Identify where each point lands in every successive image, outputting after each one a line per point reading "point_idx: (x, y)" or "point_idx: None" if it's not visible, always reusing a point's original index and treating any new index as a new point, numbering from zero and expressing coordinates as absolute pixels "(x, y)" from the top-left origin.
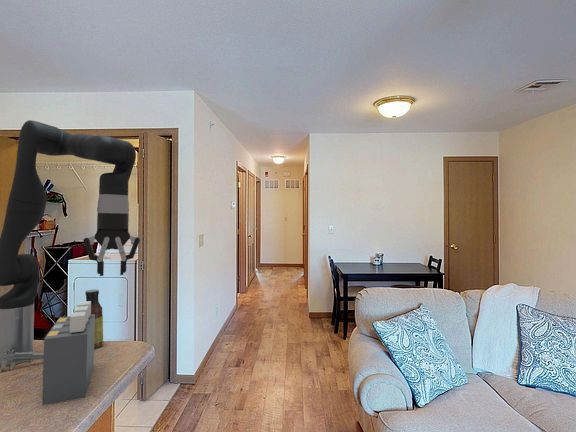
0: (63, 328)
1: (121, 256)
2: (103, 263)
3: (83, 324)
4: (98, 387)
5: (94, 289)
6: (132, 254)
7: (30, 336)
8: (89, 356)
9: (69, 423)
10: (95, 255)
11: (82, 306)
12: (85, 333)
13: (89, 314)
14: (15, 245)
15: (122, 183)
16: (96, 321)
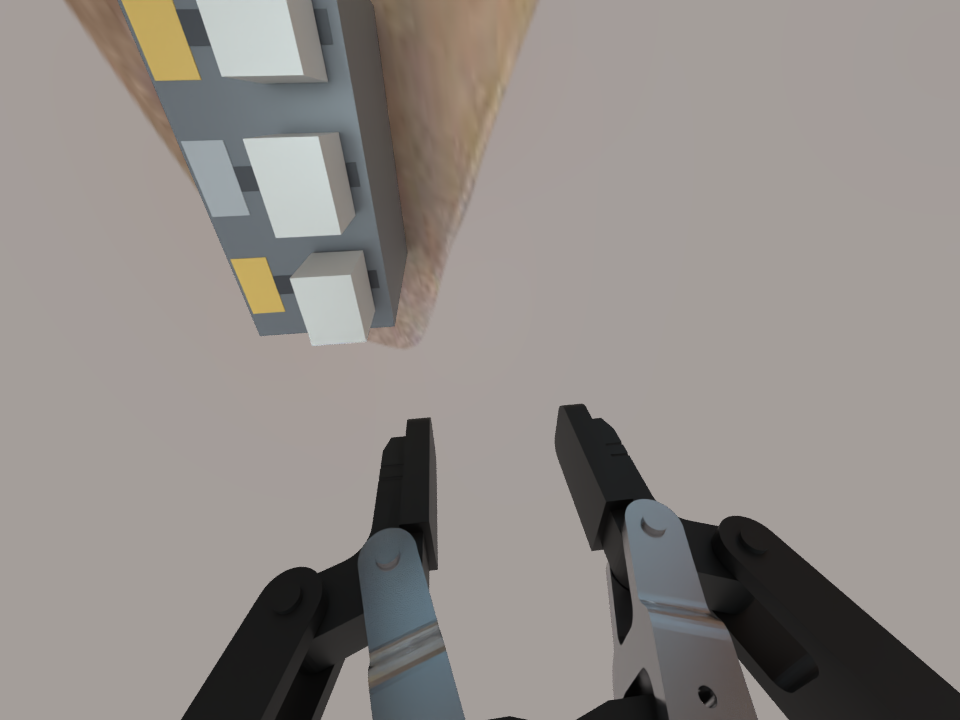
0: (265, 224)
1: (619, 610)
2: (434, 532)
3: (370, 323)
4: (426, 208)
5: None
6: (737, 619)
7: None
8: (390, 202)
9: (403, 340)
10: (337, 645)
11: (261, 76)
12: (385, 316)
13: (319, 61)
14: None
15: None
16: None
